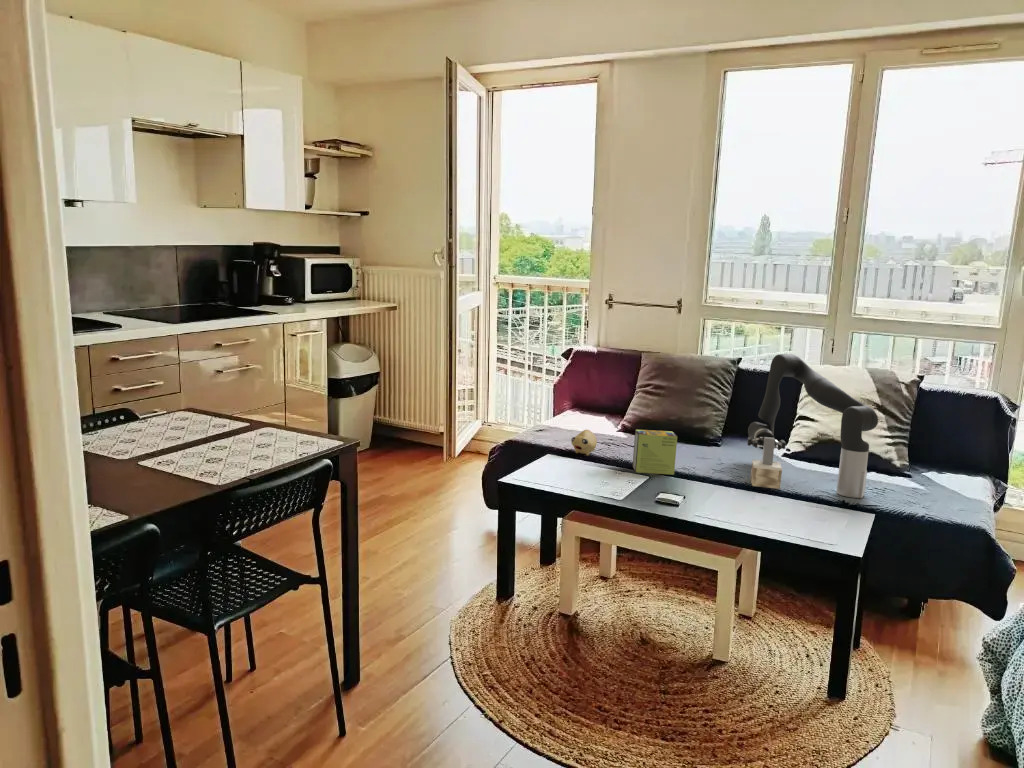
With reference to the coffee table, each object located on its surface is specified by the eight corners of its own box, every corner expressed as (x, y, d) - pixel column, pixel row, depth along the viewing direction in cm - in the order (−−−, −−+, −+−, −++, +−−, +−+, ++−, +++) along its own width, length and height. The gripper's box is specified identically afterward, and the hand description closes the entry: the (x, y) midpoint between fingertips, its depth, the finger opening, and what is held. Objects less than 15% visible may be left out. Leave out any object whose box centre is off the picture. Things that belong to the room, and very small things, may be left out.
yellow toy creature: (566, 454, 327) (567, 430, 325) (579, 450, 337) (581, 426, 336) (586, 458, 322) (588, 433, 320) (599, 454, 332) (601, 429, 330)
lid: (778, 468, 298) (781, 437, 296) (781, 474, 288) (784, 441, 287) (751, 465, 300) (754, 434, 298) (753, 471, 290) (756, 439, 289)
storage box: (777, 482, 299) (779, 464, 298) (780, 488, 289) (781, 470, 288) (750, 479, 301) (752, 462, 300) (752, 485, 291) (754, 467, 290)
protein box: (674, 475, 302) (678, 436, 300) (635, 472, 302) (638, 434, 300) (669, 468, 312) (672, 431, 310) (631, 466, 312) (634, 428, 310)
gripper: (746, 428, 314) (749, 435, 298) (783, 431, 311) (788, 438, 295) (745, 446, 315) (747, 453, 299) (781, 449, 312) (786, 457, 296)
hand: (767, 446), depth 297 cm, fingers open, 8 cm apart
